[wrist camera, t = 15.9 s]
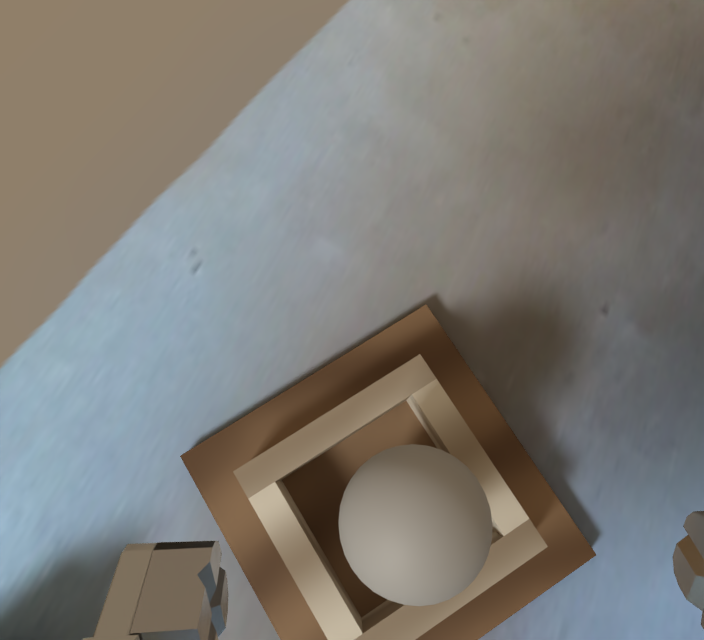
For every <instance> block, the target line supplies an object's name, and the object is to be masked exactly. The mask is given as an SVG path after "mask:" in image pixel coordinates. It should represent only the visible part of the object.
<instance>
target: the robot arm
mask: <svg viewBox="0 0 704 640" xmlns="http://www.w3.org/2000/svg"><path fill="white" fill-rule="evenodd" d="M683 527H684V528H685V530H686V532H687V533H688V535H687V536H686V537H685V538H683V539H682V540H681V541H680V542H678V543H677V544H676V548H675V551H674V554H673V566H674V574H675V576H676V579H677V582H678V585H679V587H680V589H681V591H682V592H683V594H684V596H685V598H686V600H688V601H689V602H691V603H692V604H693V605H695V606H696V607H697V608H699V609H700V610H702V611H703V612H702V619H701V625H702V627H703V629H704V511H695V512H692V513H691V514H690V515H688V516H687V518H686V521H685V523H684V526H683ZM221 555H222V553H221V549H220V545H219V541H193V542H161V543H140V544H127V546H126V547H125V549H124V550H123V552H122V553H121V556H120V559H119V561H118V564H117V567H116V570H115V573H114V576H113V579H112V582H111V585H110V588H109V591H108V594H107V597H106V600H105V603H104V606H103V609H102V612H101V615H100V618H99V621H98V624H97V627H96V630H95V633H94V635H93V637H89V638H83V639H82V640H218V637H219V636H220V634H221V633H222V632H223V631H224V629H225V628H226V620H227V612H228V584H227V577H226V572H225V570H224V569H222V568H221V567H220V561H221Z"/></svg>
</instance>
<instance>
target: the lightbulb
mask: <svg viewBox="0 0 704 640" xmlns="http://www.w3.org/2000/svg"><path fill="white" fill-rule="evenodd" d="M338 524H339V534H340V541H341V545H342V548H343V551H344V555H345V557H346V559H347V561H348V563H349V565H350V567H351V569H352V570H353V571H354V572H355V574H356V575H357V576H358V578H359V579H360V580H361V581H362V582H363V583H364V584H365V585H366V586H367V587H369V588H370V589H371V590H372V591H373V592H375V593H377V594H378V595H380V596H382V597H384V598H385V599H387V600H390V601H393V602H397V603H400V604H403V605H411V606H426V605H435V604H437V603H440V602H443V601H446V600H449V599H451V598H452V597H454V596H456V595H457V594H459V593H461V592H462V591H463V590H464V589H465V588H466V587H468V586H469V585H470V584H471V583H472V582H473V581H474V579H475V578H476V577H477V575H478V574H479V572H480V571H481V570H482V568H483V566H484V563H485V561H486V559H487V557H488V554H489V550H490V546H491V542H492V527H493V523H492V516H491V509H490V506H489V503H488V500H487V497H486V494H485V492H484V490H483V488H482V486H481V485H480V483H479V481H478V479H477V478H476V477H475V475H474V474H473V473H472V472H471V471H470V469H469V468H468V467H467V466H466V465H465V464H463V463H462V462H461V461H460V460H458V459H457V458H456V457H454V456H453V455H451V454H449V453H447V452H445V451H443V450H441V449H437V448H434V447H431V446H426V445H416V444H411V445H401V446H396V447H393V448H389V449H386V450H383V451H382V452H380V453H378V454H376V455H374V456H373V457H371V458H370V459H369V460H368V461H366V462H365V463H364V464H363V465H362V466H361V467H360V468H359V469H358V470H357V471H356V473H355V474H354V475H353V477H352V478H351V479H350V481H349V483H348V485H347V487H346V489H345V491H344V494H343V498H342V501H341V505H340V512H339V523H338Z"/></svg>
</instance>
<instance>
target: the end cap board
mask: <svg viewBox="0 0 704 640" xmlns="http://www.w3.org/2000/svg"><path fill="white" fill-rule="evenodd" d="M411 444H416V445H426V446H431V447H434V448H437V449H441V450H443V451H445V452H447V453H449V454H451V455H453V456H454V457H456V458H457V459H458V460H460V461H461V462H462V463H463V464H465V465H466V466H467V467H468V468H469V469H470V471H471V472H472V473H473V474H474V475H475V477H476V478H477V479H478V481H479V483H480V485H481V486H482V488H483V490H484V492H485V494H486V497H487V500H488V503H489V506H490V509H491V516H492V523H493V527H492V542H491V546H490V550H489V554H488V557H487V559H486V561H485V563H484V566H483V568H482V570H481V571H480V572H479V574H478V575H477V577H476V578H475V579H474V581H473V582H472V583H471V584H470V585H469V586H468V587H466V588H465V589H464V590H463V591H462V592H461V593H459V594H457V595H456V596H454V597H452V598H451V599H449V600H446V601H443V602H440V603H437V604H435V605H426V606H411V605H403V604H400V603H397V602H393V601H390V600H387V599H385V598H384V597H382V596H380V595H378V594H377V593H375V592H373V591H372V590H371V589H370V588H369V587H367V586H366V585H365V584H364V583H363V582H362V581H361V580H360V579H359V578H358V576H357V575H356V574H355V572H354V571H353V570H352V569H351V567H350V565H349V563H348V561H347V559H346V557H345V555H344V551H343V548H342V545H341V541H340V534H339V524H338V523H339V512H340V505H341V501H342V498H343V494H344V491H345V489H346V487H347V485H348V483H349V481H350V479H351V478H352V477H353V475H354V474H355V473H356V471H357V470H358V469H359V468H360V467H361V466H362V465H363V464H364V463H365V462H366V461H368V460H369V459H370V458H371V457H373V456H374V455H376V454H378V453H380V452H382V451H383V450H386V449H389V448H393V447H396V446H401V445H411ZM180 457H181V458H182V460H183V462H184V464H185V466H186V468H187V469H188V471H189V473H190V475H191V477H192V478H193V480H194V482H195V484H196V486H197V488H198V489H199V491H200V493H201V495H202V497H203V499H204V500H205V502H206V504H207V506H208V508H209V510H210V511H211V513H212V515H213V517H214V519H215V520H216V522H217V524H218V526H219V528H220V530H221V531H222V533H223V535H224V537H225V539H226V541H227V542H228V544H229V546H230V548H231V550H232V552H233V553H234V555H235V557H236V559H237V561H238V563H239V564H240V566H241V568H242V570H243V572H244V573H245V575H246V577H247V579H248V581H249V583H250V584H251V586H252V588H253V590H254V592H255V594H256V595H257V597H258V599H259V601H260V603H261V605H262V606H263V608H264V610H265V612H266V614H267V615H268V617H269V619H270V621H271V623H272V625H273V626H274V628H275V630H276V632H277V634H278V636H279V637H280V639H281V640H478V639H479V638H481V637H482V636H483V635H485V634H486V633H488V632H489V631H490V630H492V629H493V628H495V627H496V626H497V625H499V624H500V623H502V622H503V621H505V620H506V619H507V618H509V617H510V616H512V615H513V614H514V613H516V612H517V611H519V610H520V609H521V608H523V607H524V606H526V605H527V604H528V603H530V602H531V601H533V600H534V599H535V598H537V597H538V596H540V595H541V594H542V593H544V592H545V591H547V590H548V589H549V588H551V587H552V586H554V585H555V584H556V583H558V582H559V581H561V580H562V579H563V578H565V577H566V576H568V575H569V574H570V573H572V572H573V571H575V570H576V569H577V568H579V567H580V566H582V565H583V564H584V563H586V562H587V561H589V560H590V559H591V558H593V557H594V556H596V554H595V552H594V551H593V549H592V548H591V546H590V545H589V543H588V542H587V540H586V539H585V537H584V536H583V535H582V533H581V532H580V530H579V529H578V527H577V526H576V524H575V523H574V521H573V520H572V518H571V517H570V515H569V514H568V512H567V511H566V510H565V508H564V507H563V505H562V504H561V502H560V501H559V499H558V498H557V496H556V495H555V493H554V492H553V490H552V489H551V487H550V486H549V484H548V483H547V482H546V480H545V479H544V477H543V476H542V474H541V473H540V471H539V470H538V468H537V467H536V465H535V464H534V462H533V461H532V459H531V458H530V456H529V455H528V454H527V452H526V451H525V449H524V448H523V446H522V445H521V443H520V442H519V440H518V439H517V437H516V436H515V434H514V433H513V431H512V430H511V428H510V427H509V426H508V424H507V423H506V421H505V420H504V418H503V417H502V415H501V414H500V412H499V411H498V409H497V408H496V406H495V405H494V403H493V402H492V401H491V399H490V398H489V396H488V395H487V393H486V392H485V390H484V389H483V387H482V386H481V384H480V383H479V381H478V380H477V378H476V377H475V375H474V374H473V373H472V371H471V370H470V368H469V367H468V365H467V364H466V362H465V361H464V359H463V358H462V356H461V355H460V353H459V352H458V350H457V349H456V347H455V346H454V345H453V343H452V342H451V340H450V339H449V337H448V336H447V334H446V333H445V331H444V330H443V328H442V327H441V325H440V324H439V322H438V321H437V319H436V318H435V317H434V315H433V314H432V312H431V311H430V309H429V308H428V306H427V305H424V306H423V307H421V308H419V309H418V310H416V311H415V312H413V313H411V314H410V315H408V316H406V317H405V318H403V319H402V320H400V321H398V322H397V323H395V324H393V325H392V326H390V327H389V328H387V329H385V330H384V331H382V332H380V333H379V334H377V335H376V336H374V337H372V338H371V339H369V340H367V341H366V342H364V343H363V344H361V345H359V346H358V347H356V348H355V349H353V350H351V351H350V352H348V353H346V354H345V355H343V356H342V357H340V358H338V359H337V360H335V361H333V362H332V363H330V364H329V365H327V366H325V367H324V368H322V369H320V370H319V371H317V372H316V373H314V374H312V375H311V376H309V377H307V378H306V379H304V380H303V381H301V382H299V383H298V384H296V385H294V386H293V387H291V388H290V389H288V390H286V391H285V392H283V393H282V394H280V395H278V396H277V397H275V398H273V399H272V400H270V401H269V402H267V403H265V404H264V405H262V406H260V407H259V408H257V409H256V410H254V411H252V412H251V413H249V414H247V415H246V416H244V417H243V418H241V419H239V420H238V421H236V422H234V423H233V424H231V425H230V426H228V427H226V428H225V429H223V430H221V431H220V432H218V433H217V434H215V435H213V436H212V437H210V438H209V439H207V440H205V441H204V442H202V443H200V444H199V445H197V446H196V447H194V448H192V449H191V450H189V451H187V452H186V453H184V454H183V455H181V456H180Z"/></svg>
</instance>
